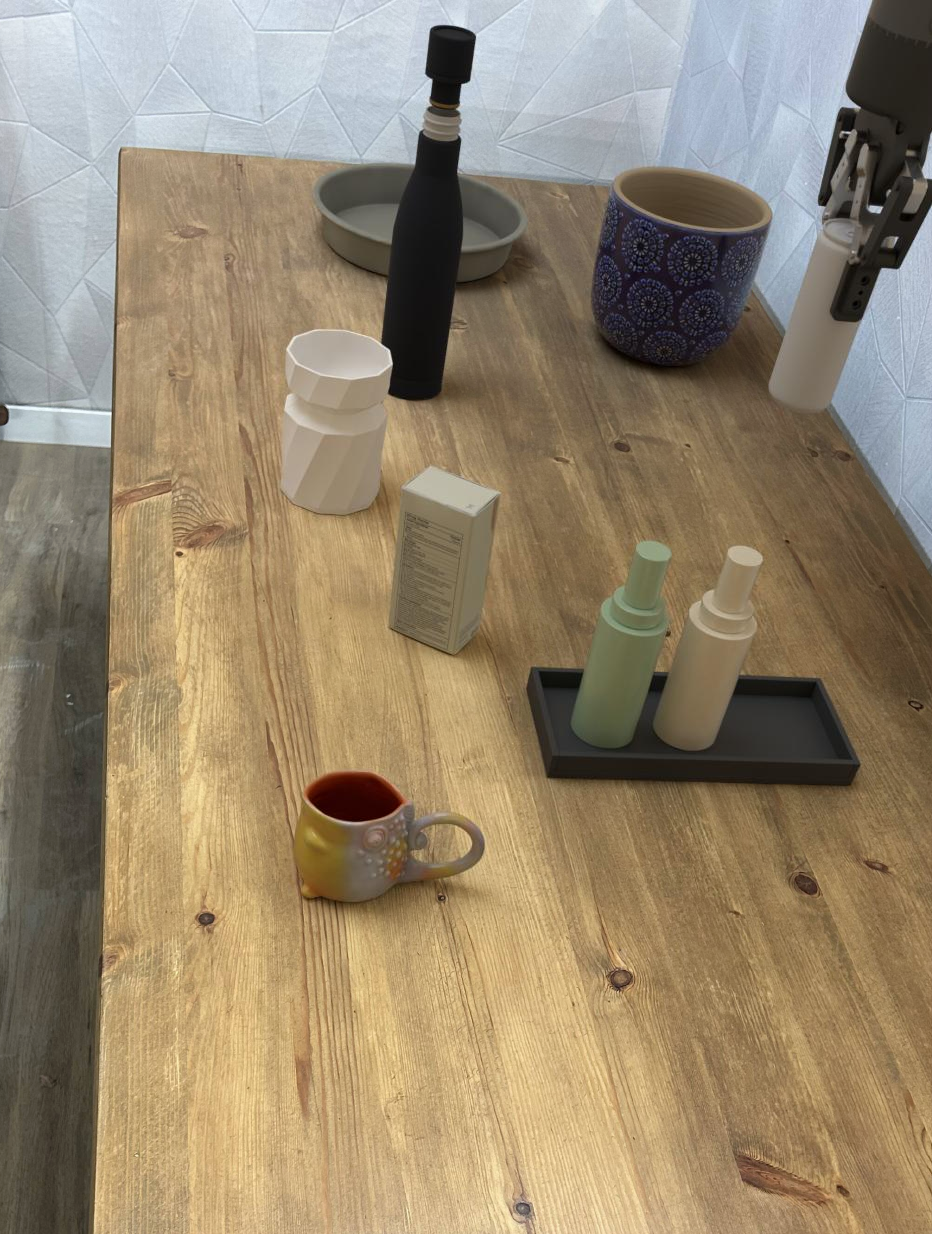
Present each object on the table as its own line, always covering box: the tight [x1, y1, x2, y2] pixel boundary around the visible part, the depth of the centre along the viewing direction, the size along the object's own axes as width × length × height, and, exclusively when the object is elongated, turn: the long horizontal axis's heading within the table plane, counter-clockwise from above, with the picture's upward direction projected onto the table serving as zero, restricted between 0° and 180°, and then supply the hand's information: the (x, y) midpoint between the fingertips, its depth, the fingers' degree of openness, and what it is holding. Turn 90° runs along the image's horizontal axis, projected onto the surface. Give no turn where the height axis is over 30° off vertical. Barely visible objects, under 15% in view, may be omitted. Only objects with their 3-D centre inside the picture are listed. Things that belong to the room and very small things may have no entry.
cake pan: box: [311, 162, 529, 284], centre depth 154 cm, size 25×25×4 cm
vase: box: [279, 328, 393, 516], centre depth 113 cm, size 9×9×12 cm
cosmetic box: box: [387, 465, 502, 656], centre depth 101 cm, size 6×4×12 cm
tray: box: [525, 666, 862, 786], centre depth 100 cm, size 23×10×2 cm, turn 95°
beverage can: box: [768, 218, 882, 415], centre depth 96 cm, size 5×5×12 cm
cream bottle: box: [653, 545, 764, 751], centre depth 95 cm, size 5×5×15 cm
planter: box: [590, 165, 774, 367], centre depth 140 cm, size 16×17×15 cm
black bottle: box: [380, 24, 477, 401], centre depth 121 cm, size 6×6×30 cm
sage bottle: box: [571, 540, 673, 749], centre depth 94 cm, size 5×5×15 cm
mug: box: [293, 769, 486, 903], centre depth 85 cm, size 12×7×7 cm, turn 84°
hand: (833, 300), depth 94 cm, fingers closed on beverage can, 5 cm apart
